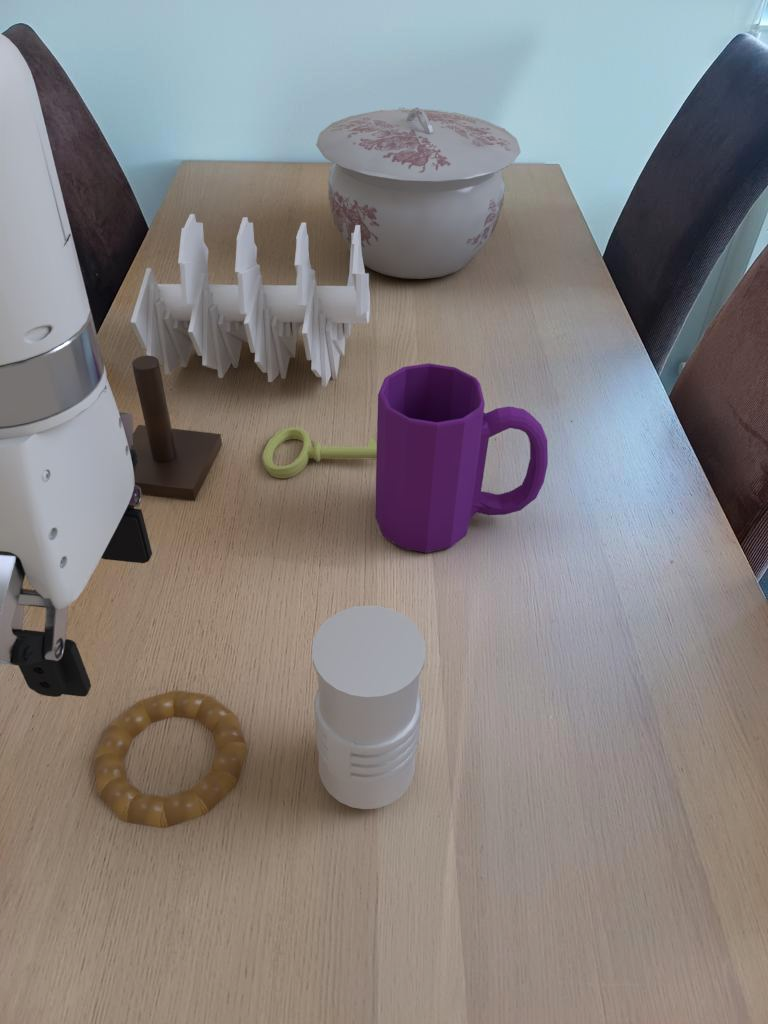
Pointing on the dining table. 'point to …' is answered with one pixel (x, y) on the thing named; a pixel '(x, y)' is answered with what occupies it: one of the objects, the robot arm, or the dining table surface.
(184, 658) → the dining table surface
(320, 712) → the white lidded bottle
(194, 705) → the ring
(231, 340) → the spiral staircase
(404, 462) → the mug
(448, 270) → the chamber pot
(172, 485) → the peg stand
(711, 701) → the dining table surface
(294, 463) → the key
